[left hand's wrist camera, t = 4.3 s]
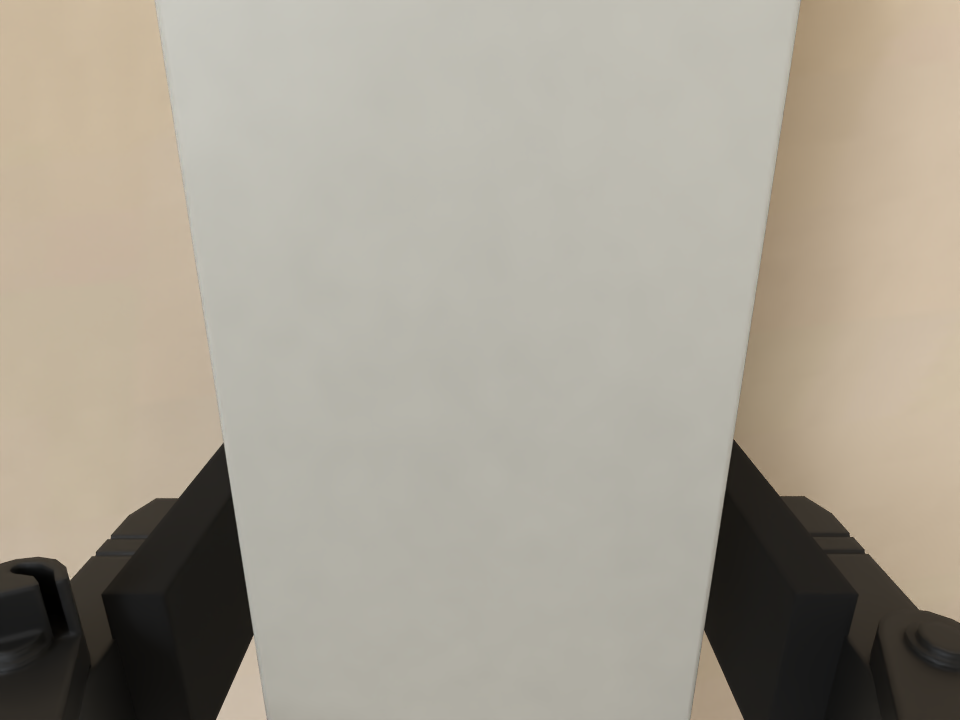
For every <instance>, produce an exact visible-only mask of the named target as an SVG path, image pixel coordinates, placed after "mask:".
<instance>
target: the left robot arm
mask: <svg viewBox="0 0 960 720" xmlns="http://www.w3.org/2000/svg"><path fill="white" fill-rule="evenodd" d="M849 534H850V533H849V532H848V531H847V530H846V529H845V528H844V527H843V525H842V524H841V523H840V522H839V521H838V520H837V519H836V518H835V517H834V515H833V514H832V513H830V512H829V511H827V510H825V509H824V508H822V507H821V506H819V505H817V504H816V503H814V502H813V501H811V500H809V499H808V498H806V497H805V496H779V495H778V494H777V492H776V491H775V490H774V489H773V487H772V486H771V485H770V484H769V482H768V481H767V480H766V479H765V478H764V476H763V475H762V474H761V473H760V471H759V470H758V469H757V468H756V466H755V465H754V464H753V463H752V461H751V460H750V459H749V458H748V456H747V455H746V454H745V453H744V452H743V450H742V449H741V448H740V447H739V445H738V444H737V443H736V442H735V440H734V439H733V444H732V451H731V457H730V464H729V470H728V477H727V483H726V490H725V496H724V503H723V509H722V516H721V522H720V529H719V535H718V542H717V548H716V555H715V561H714V567H713V574H712V580H711V587H710V593H709V600H708V606H707V613H706V619H705V626H704V631H705V633H706V635H707V637H708V640H709V642H710V644H711V646H712V649H713V651H714V653H715V655H716V658H717V660H718V662H719V664H720V667H721V669H722V671H723V673H724V676H725V678H726V680H727V682H728V685H729V687H730V689H731V691H732V694H733V696H734V698H735V700H736V703H737V705H738V707H739V709H740V712H741V714H742V716H743V718H744V720H960V623H959V622H957V621H955V620H953V619H950V618H947V617H944V616H941V615H938V614H935V613H932V612H929V611H922V610H919V609H918V608H917V607H916V606H915V605H914V604H913V603H912V602H911V601H910V599H909V598H908V597H907V596H906V595H905V594H904V593H903V592H902V591H901V589H900V588H899V587H898V586H897V585H896V584H895V583H894V582H893V581H892V580H891V578H890V577H889V576H888V575H887V574H886V573H885V572H884V571H883V570H882V568H881V567H880V566H879V565H878V564H877V563H876V562H875V561H874V560H873V559H872V557H871V556H870V555H869V554H865V552H864V551H865V550H864V549H863V548H862V546H861V545H860V544H859V543H858V542H857V541H856V540H855V539H854V538H853V537H850V535H849ZM253 635H254V633H253V626H252V620H251V613H250V607H249V601H248V594H247V588H246V581H245V575H244V569H243V562H242V556H241V549H240V543H239V537H238V530H237V524H236V517H235V511H234V505H233V498H232V492H231V485H230V479H229V473H228V466H227V460H226V453H225V447H224V443H223V444H222V445H221V447H220V448H219V449H218V450H217V451H216V453H215V454H214V455H213V456H212V458H211V459H210V460H209V461H208V463H207V464H206V465H205V466H204V468H203V469H202V470H201V471H200V473H199V474H198V475H197V476H196V478H195V479H194V480H193V481H192V482H191V484H190V485H189V486H188V487H187V489H186V490H185V491H184V492H183V494H182V495H181V496H180V497H179V498H156V499H154V500H153V501H151V502H150V503H148V504H146V505H145V506H143V507H142V508H140V509H138V510H137V511H135V512H134V513H132V514H130V515H129V516H128V517H127V518H126V519H125V520H124V521H123V523H122V524H121V525H120V526H119V527H118V528H117V529H116V530H115V531H114V533H113V534H112V535H111V539H107V540H106V541H105V543H104V544H103V545H102V546H101V547H100V548H99V549H98V550H97V551H96V556H92V557H91V558H90V559H89V560H88V561H87V563H86V564H85V565H84V566H83V567H82V568H81V569H80V570H79V571H78V573H77V574H76V575H75V576H74V577H73V578H72V579H71V580H69V576H68V573H67V569H66V567H65V566H64V565H63V564H61V563H60V562H59V561H57V560H56V559H50V558H43V557H32V558H23V559H15V560H12V561H8V562H5V563H1V564H0V720H216V718H217V716H218V714H219V712H220V709H221V707H222V705H223V703H224V700H225V698H226V696H227V694H228V691H229V689H230V687H231V685H232V682H233V680H234V678H235V676H236V673H237V671H238V669H239V667H240V664H241V662H242V660H243V658H244V655H245V653H246V651H247V649H248V646H249V644H250V642H251V640H252V637H253Z"/></svg>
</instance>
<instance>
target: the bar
mask: <svg viewBox="0 0 960 720" xmlns="http://www.w3.org/2000/svg"><path fill="white" fill-rule="evenodd" d="M800 3H801V0H155V5H156V12H157V18H158V24H159V31H160V37H161V44H162V50H163V56H164V63H165V69H166V76H167V82H168V88H169V95H170V101H171V108H172V114H173V120H174V127H175V133H176V140H177V146H178V152H179V159H180V165H181V172H182V178H183V185H184V191H185V197H186V204H187V210H188V217H189V223H190V229H191V236H192V242H193V249H194V255H195V261H196V268H197V274H198V281H199V287H200V293H201V300H202V306H203V313H204V319H205V325H206V332H207V338H208V345H209V351H210V357H211V364H212V370H213V377H214V383H215V389H216V396H217V402H218V409H219V415H220V421H221V428H222V434H223V441H224V447H225V453H226V460H227V466H228V473H229V479H230V485H231V492H232V498H233V505H234V511H235V517H236V524H237V530H238V537H239V543H240V549H241V556H242V562H243V569H244V575H245V581H246V588H247V594H248V601H249V607H250V613H251V620H252V626H253V633H254V639H255V645H256V652H257V658H258V665H259V671H260V677H261V684H262V690H263V697H264V703H265V710H266V716H267V720H690V717H691V710H692V704H693V697H694V691H695V684H696V678H697V671H698V665H699V658H700V652H701V645H702V639H703V632H704V626H705V619H706V613H707V606H708V600H709V593H710V587H711V580H712V574H713V567H714V561H715V555H716V548H717V542H718V535H719V529H720V522H721V516H722V509H723V503H724V496H725V490H726V483H727V477H728V470H729V464H730V457H731V451H732V444H733V438H734V431H735V425H736V418H737V412H738V405H739V399H740V392H741V386H742V379H743V373H744V366H745V360H746V353H747V347H748V340H749V334H750V327H751V321H752V314H753V308H754V301H755V295H756V288H757V282H758V275H759V269H760V262H761V256H762V249H763V243H764V236H765V230H766V223H767V217H768V211H769V204H770V198H771V191H772V185H773V178H774V172H775V165H776V159H777V152H778V146H779V139H780V133H781V126H782V120H783V113H784V107H785V100H786V94H787V87H788V81H789V74H790V68H791V61H792V55H793V48H794V42H795V35H796V29H797V22H798V16H799V9H800Z"/></svg>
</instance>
